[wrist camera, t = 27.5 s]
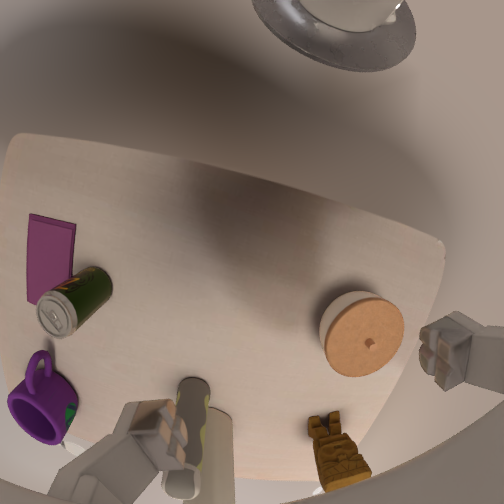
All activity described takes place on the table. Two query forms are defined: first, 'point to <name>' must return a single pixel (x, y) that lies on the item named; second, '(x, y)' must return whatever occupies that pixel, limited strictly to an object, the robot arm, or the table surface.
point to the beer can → (73, 302)
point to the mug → (43, 402)
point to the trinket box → (360, 333)
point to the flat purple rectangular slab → (48, 254)
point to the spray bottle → (189, 440)
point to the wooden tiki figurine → (336, 455)
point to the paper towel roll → (217, 461)
